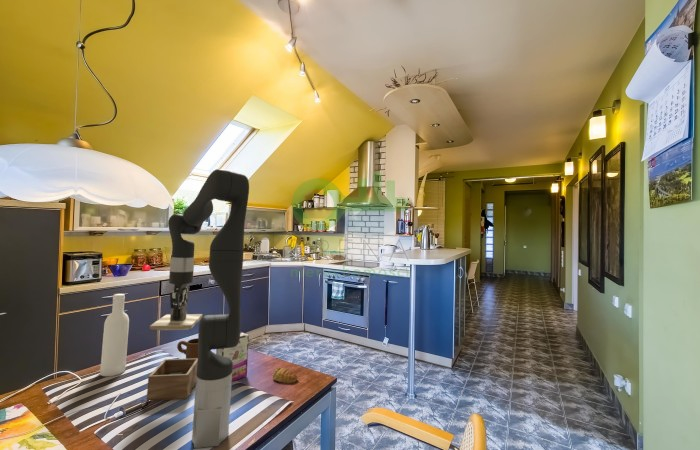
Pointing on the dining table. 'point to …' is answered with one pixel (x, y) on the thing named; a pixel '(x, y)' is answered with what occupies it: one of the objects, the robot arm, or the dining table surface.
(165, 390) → the box
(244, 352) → the candy bar box
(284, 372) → the pastry
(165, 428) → the dining table surface
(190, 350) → the mug
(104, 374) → the bottle
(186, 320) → the lid
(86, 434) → the dining table surface
